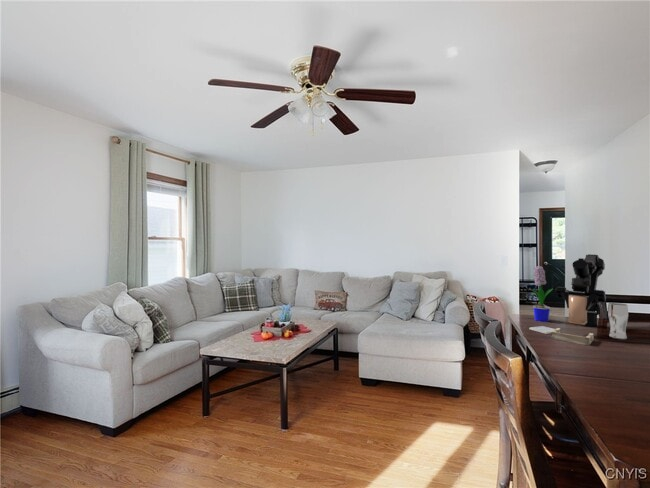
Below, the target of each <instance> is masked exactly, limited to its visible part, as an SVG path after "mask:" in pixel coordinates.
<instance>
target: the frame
mask: <svg viewBox="0 0 650 488" xmlns="http://www.w3.org/2000/svg"><path fill="white" fill-rule="evenodd" d="M554 329H555V330H554V331H552V332H551V333H550V334H551V339H552V340H556V341H562V342H569V343H573V344H578V345H584V346H590V345H591V344H592V342H593V341H594V337H595V335H594V333H591V332H589V333H588V335H586V336H584V335H583V336H581V335H576V334H569V333H564V332H561V328H560V327H557V328H554Z"/></svg>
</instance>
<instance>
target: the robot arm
mask: <svg viewBox="0 0 650 488" xmlns="http://www.w3.org/2000/svg"><path fill="white" fill-rule="evenodd" d="M571 265H572V268H573V272H574V275H575V277H572V278H571V290H570V289H569V290H568V289H567V288H566V287H564V286H563V287H562V286H557V287H555V290H554V292H555V294H556V298H558V299H562V300H564V301H565V303H566V308H567V309H569V296H572V295H574V296H585V297H587V306H586V310H587V323H586V324H585V325H582V324H580V325H582V326H583V327H593V328H597V327H598V328H599V327H600V326H599V325H598V316H601V315H602V314H601V306H600V304H599V303H605V302H607V296H606V291H604V290H601V289H600V290H599V289H597V286H598V285H597V284H598V278H599V277H600V276H601V275H603V272H604V270H605V268H606V267H605V265H606V264H605V261H604V259H603V258H601V257H599V255H598V254H591V253H590V254H585V258H581V257H580V258H578V259H577V260H575V261H573V262H572V264H571Z"/></svg>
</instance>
